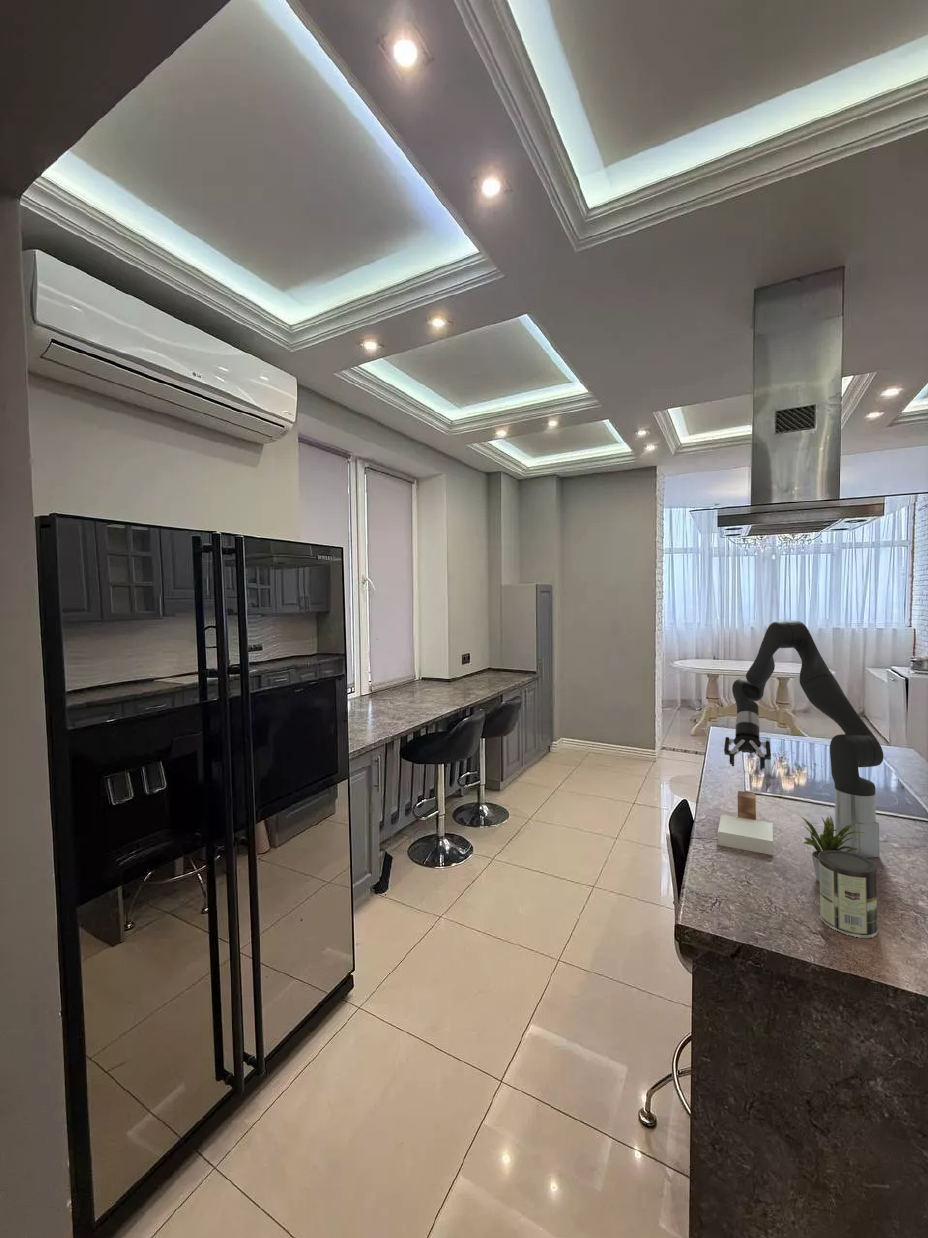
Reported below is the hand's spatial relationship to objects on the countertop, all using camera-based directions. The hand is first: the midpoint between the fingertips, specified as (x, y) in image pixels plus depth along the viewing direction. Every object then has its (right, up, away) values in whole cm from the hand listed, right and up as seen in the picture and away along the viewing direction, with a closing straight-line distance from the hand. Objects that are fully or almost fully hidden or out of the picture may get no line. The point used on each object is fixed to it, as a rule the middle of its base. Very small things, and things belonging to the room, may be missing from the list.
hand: (746, 767), depth 173 cm
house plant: (-4, -16, -46) cm, 49 cm away
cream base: (-12, -16, -22) cm, 29 cm away
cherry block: (-6, -15, -10) cm, 19 cm away
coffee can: (-13, -17, -62) cm, 66 cm away
